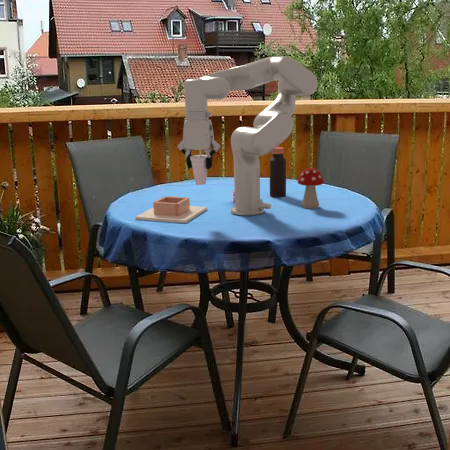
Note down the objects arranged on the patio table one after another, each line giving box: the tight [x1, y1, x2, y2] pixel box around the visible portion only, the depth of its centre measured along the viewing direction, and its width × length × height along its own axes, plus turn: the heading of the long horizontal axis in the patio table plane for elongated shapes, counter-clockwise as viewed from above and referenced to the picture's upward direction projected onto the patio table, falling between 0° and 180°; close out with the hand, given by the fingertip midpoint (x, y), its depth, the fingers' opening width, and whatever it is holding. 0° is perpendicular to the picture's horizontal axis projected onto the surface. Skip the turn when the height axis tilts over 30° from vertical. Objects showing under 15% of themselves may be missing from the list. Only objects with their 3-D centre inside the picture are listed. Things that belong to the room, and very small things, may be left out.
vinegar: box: [269, 146, 287, 198], centre depth 246 cm, size 7×7×20 cm
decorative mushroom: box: [297, 167, 325, 210], centre depth 227 cm, size 10×9×15 cm
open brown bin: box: [135, 196, 208, 224], centre depth 223 cm, size 20×20×6 cm
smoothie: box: [190, 150, 208, 186], centre depth 208 cm, size 6×6×14 cm
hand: (199, 167), depth 209 cm, fingers closed on smoothie, 6 cm apart
